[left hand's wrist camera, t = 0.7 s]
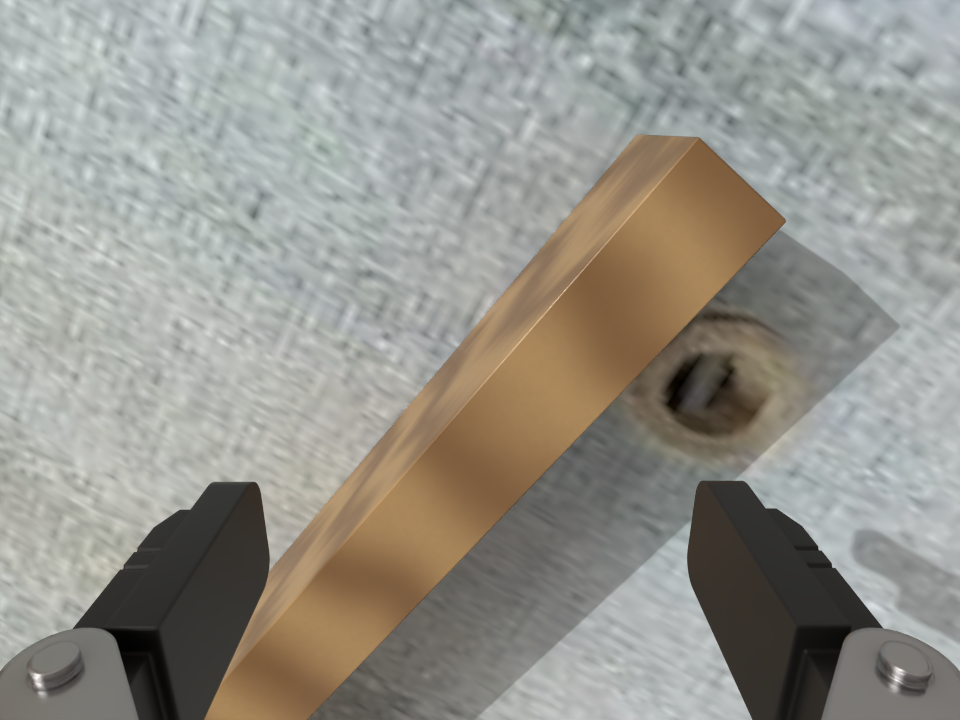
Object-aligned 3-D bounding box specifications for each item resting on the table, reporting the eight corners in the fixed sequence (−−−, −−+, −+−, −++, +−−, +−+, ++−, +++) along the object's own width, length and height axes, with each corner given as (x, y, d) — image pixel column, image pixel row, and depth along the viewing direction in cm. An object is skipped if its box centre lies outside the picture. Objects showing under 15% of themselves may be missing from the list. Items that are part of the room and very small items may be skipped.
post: (637, 133, 29) (698, 135, 21) (704, 196, 30) (788, 221, 22) (78, 797, 44) (-12, 948, 36) (135, 824, 45) (60, 977, 37)
